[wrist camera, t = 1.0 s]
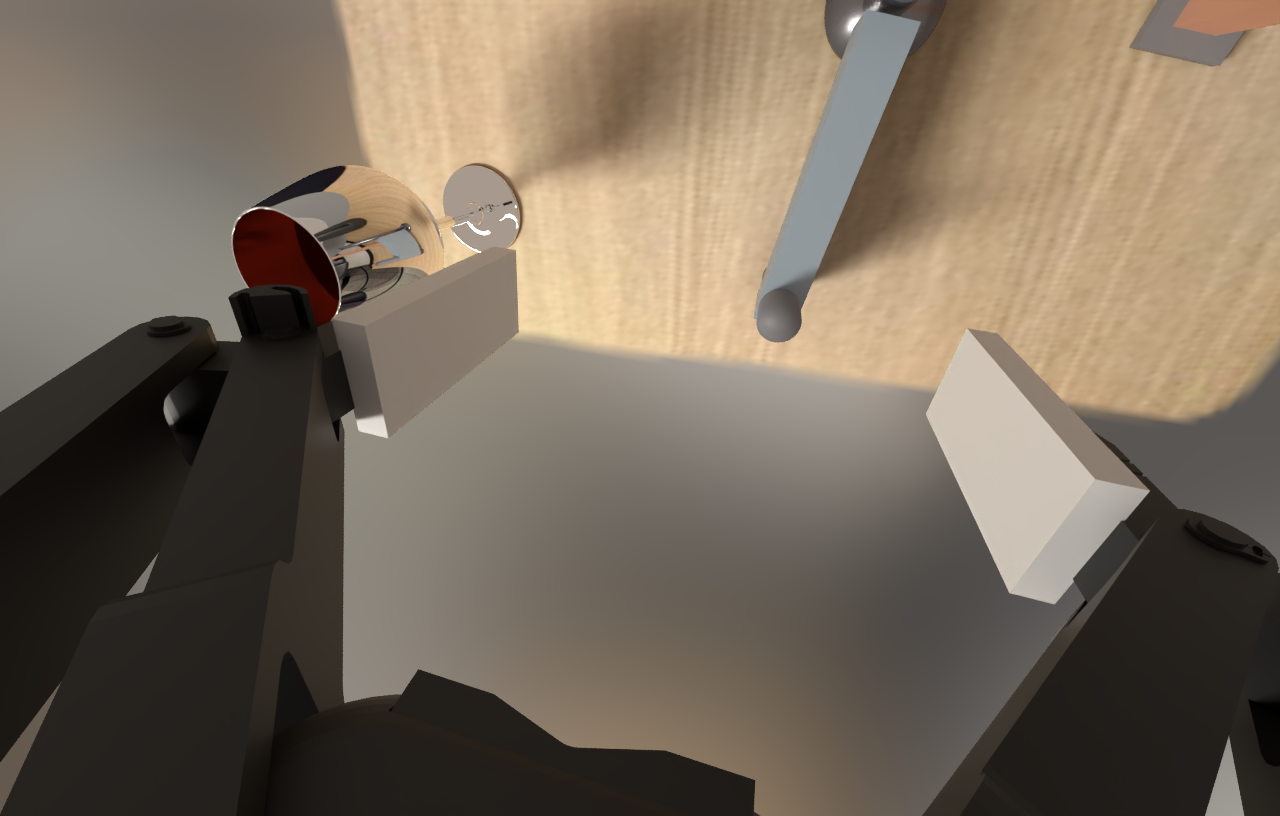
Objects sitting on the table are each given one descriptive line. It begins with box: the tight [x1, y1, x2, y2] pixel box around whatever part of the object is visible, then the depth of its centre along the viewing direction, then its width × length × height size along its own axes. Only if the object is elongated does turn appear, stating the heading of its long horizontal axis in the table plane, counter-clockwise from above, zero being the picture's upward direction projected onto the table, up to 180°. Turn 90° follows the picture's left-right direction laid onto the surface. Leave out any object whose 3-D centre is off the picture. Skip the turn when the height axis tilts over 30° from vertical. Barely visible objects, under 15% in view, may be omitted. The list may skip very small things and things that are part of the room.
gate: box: [754, 9, 921, 342], centre depth 28 cm, size 15×2×9 cm, turn 168°
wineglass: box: [231, 165, 520, 327], centre depth 31 cm, size 8×8×18 cm
